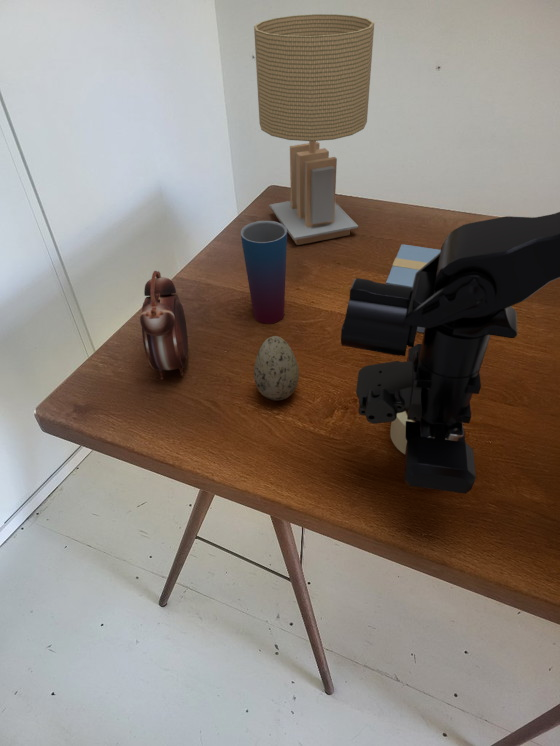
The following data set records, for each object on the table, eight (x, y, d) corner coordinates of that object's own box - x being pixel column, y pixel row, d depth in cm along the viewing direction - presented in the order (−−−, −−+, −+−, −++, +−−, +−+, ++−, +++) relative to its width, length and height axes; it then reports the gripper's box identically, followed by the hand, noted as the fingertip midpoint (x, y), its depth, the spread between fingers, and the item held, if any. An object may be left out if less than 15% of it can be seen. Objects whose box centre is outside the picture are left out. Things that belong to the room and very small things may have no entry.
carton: (467, 297, 87) (477, 254, 82) (458, 339, 79) (470, 295, 74) (395, 285, 91) (401, 243, 85) (380, 324, 83) (385, 281, 77)
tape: (459, 421, 67) (466, 395, 64) (450, 468, 62) (458, 442, 58) (397, 406, 69) (402, 380, 66) (383, 450, 64) (387, 424, 61)
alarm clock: (160, 342, 81) (139, 258, 71) (190, 340, 81) (174, 255, 71) (154, 391, 73) (129, 303, 63) (188, 388, 73) (169, 300, 63)
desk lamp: (253, 213, 113) (240, 20, 89) (337, 199, 117) (345, 10, 93) (282, 256, 99) (274, 41, 75) (375, 238, 103) (396, 28, 80)
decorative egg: (288, 415, 69) (286, 359, 62) (248, 402, 71) (242, 346, 64) (305, 386, 73) (305, 330, 66) (267, 375, 75) (263, 319, 68)
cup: (289, 327, 83) (286, 242, 73) (247, 327, 83) (238, 243, 73) (289, 302, 88) (287, 219, 78) (249, 303, 88) (242, 220, 78)
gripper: (371, 296, 58) (360, 396, 68) (357, 418, 44) (346, 519, 55) (476, 305, 56) (448, 406, 66) (494, 435, 42) (455, 536, 53)
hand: (424, 460), depth 60 cm, fingers closed
